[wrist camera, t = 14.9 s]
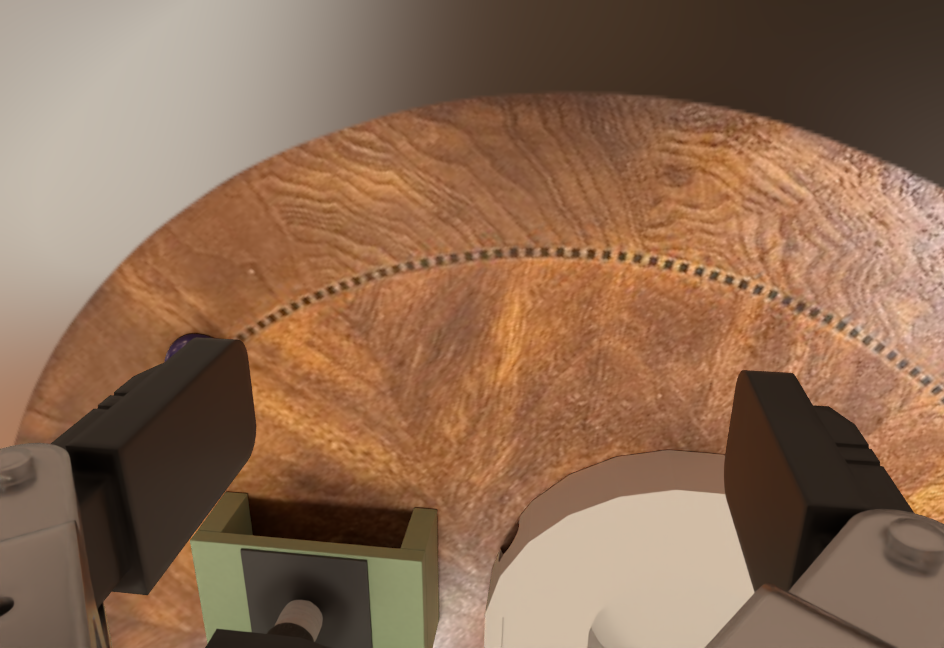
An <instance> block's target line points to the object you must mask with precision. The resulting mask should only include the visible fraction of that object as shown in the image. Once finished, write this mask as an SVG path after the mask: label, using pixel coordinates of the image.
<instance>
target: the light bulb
mask: <svg viewBox="0 0 944 648" xmlns="http://www.w3.org/2000/svg"><path fill="white" fill-rule="evenodd" d="M322 621H323V617H322V613H321V612H320V610H319V609H318V607H317V606H315V605H314V604H313V603H312V602H310V601H306V600H294V601H291V602H289V603H288V604H287V605H286V606H285V608H284V609H283V610H282V612H281V614H280V616H279V618H278V620H277V622H276V624H275V626H274V627H272V628H271V629H270V630H269V631H268V632H267V633H266V634H272V635H282V636H291V637H300V638H304V639H307V640H310V641H313V642H315V640H316V639H317V636H318V634H319V631H320V629H321V627H322Z"/></svg>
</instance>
